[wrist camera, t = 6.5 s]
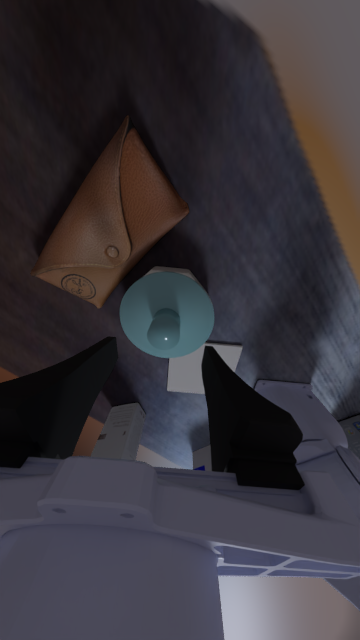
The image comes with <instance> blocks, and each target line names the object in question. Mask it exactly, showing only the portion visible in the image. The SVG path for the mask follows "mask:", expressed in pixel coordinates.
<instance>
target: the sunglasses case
mask: <svg viewBox="0 0 360 640" xmlns="http://www.w3.org/2000/svg"><path fill="white" fill-rule="evenodd" d="M188 213H189V207H188V204H187V203H186V202H185V201H184V200H183V199H181V197H180V196H179V195H178V193H177V192H176V190H175V189H174V187H173V186H172V185H171V183H170V182H169V180H168V179H167V177H166V176H165V174H164V173H163V171H162V170H161V169H160V167H159V166H158V164H157V163H156V161H155V160H154V159H153V157H152V156H151V154H150V152H149V150H148V149H147V148H146V146H145V144H144V142H143V141H142V139H141V138H140V136H139V133H138V132H137V130H136V128H135V127H134V125H133V124H132V121H131V119H130V117H129V116H128V115H127V116H126V117H125V119H124V121H123V123H122V124H121V126H120V128H119V129H118V131H117V132H116V134H115V135H114V136H113V138H112V139H111V141H110V142H109V143H108V145H107V146H106V148H105V149H104V151H103V152H102V153H101V155H100V156H99V158H98V159H97V161H96V163H95V164H94V165H93V167H92V169H91V170H90V172H89V173H88V175H87V177H86V178H85V180H84V181H83V183H82V184H81V186H80V188H79V189H78V191H77V193H76V195H75V196H74V198H73V199H72V201H71V203H70V204H69V206H68V207H67V209H66V211H65V212H64V214H63V216H62V217H61V219H60V221H59V222H58V224H57V226H56V227H55V229H54V231H53V232H52V234H51V236H50V237H49V239H48V241H47V243H46V245H45V246H44V249H43V250H42V252H41V254H40V256H39V258H38V260H37V262H36V264H35V266H34V268H33V269H32V271H31V273H30V274H31V276H36V277H38V278H40V279H42V280H44V281H46V282H48V283H50V284H52V285H55V286H57V287H59V288H61V289H63V290H65V291H67V292H69V293H72V294H74V295H76V296H78V297H80V298H82V299H84V300H86V301H88V302H91V303H93V304H94V305H96V306H97V308H101V307H102V306H103V305H104V303H105V301H106V300H107V298H108V297H109V296H110V294H111V293H112V292H113V290H114V289H115V288H116V287H117V285H118V284H119V283H120V282H121V281H122V280H123V278H124V277H125V276H126V275H127V274H128V273H129V272H130V271H131V270H132V268H133V267H134V266H135V265H136V264H137V263H138V262H139V261H140V260H141V259H142V258H143V256H144V255H145V254H146V253H148V251H149V250H150V249H151V248H152V247H153V246H154V245H155V244H156V243H157V242H158V241H159V240H160V239H161V238H162V237H163V236H164V235H165V234H166V233H167V232H169V231H170V230H171V229H172V228H173V227H174V226H175V225H176V224H177V223H178V222H180V221H181V220H182V219H183V218H185V217H186V216H187V214H188Z"/></svg>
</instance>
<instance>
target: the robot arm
mask: <svg viewBox="0 0 360 640" xmlns="http://www.w3.org/2000/svg"><path fill="white" fill-rule="evenodd" d="M117 359H118V352H117V344H116V337H106V338H105V339H103V340H101V341H99V342H98V343H96V344H94V345H93V346H91V347H89V348H88V349H86V350H84V351H82V352H80V353H78V354H77V355H75V356H73V357H71V358H69V359H67V360H65V361H62V362H60V363H58V364H56V365H53V366H51V367H48V368H45V369H43V370H40V371H38V372H35V373H32V374H29V375H26V376H23V377H20V378H16V379H13V380H9V381H6V382H2V383H0V640H224V633H223V622H222V613H221V602H220V593H219V582H218V576H262V577H266V576H267V577H313V578H323V579H324V580H325V581H326V582H328V583H329V584H330V585H331V586H332V587H333V588H335V589H336V590H337V591H338V592H339V593H340V594H341V595H343V596H344V597H345V598H346V599H347V600H348V601H349V602H351V603H352V604H353V605H354V606H355V607H356V608H357V609H358V610H359V611H360V459H359V458H358V457H357V456H356V455H355V454H354V453H353V452H352V451H351V450H349V449H348V441H347V438H346V435H345V433H344V431H343V429H342V427H341V426H340V424H339V423H338V422H337V420H336V419H335V418H334V417H333V416H332V415H331V413H330V412H329V411H328V410H327V409H326V408H325V406H324V405H323V404H322V403H321V402H320V401H319V399H318V398H317V397H316V396H315V395H314V394H313V392H312V391H311V389H312V388H313V386H312V385H311V384H302V383H291V382H279V381H268V380H258V381H257V384H256V386H255V388H254V389H253V388H251V387H250V386H249V385H248V384H246V383H245V382H244V381H243V380H242V379H241V378H240V377H239V376H237V375H236V374H235V373H234V371H233V370H232V369H231V368H230V367H229V366H228V365H227V364H226V363H225V361H224V360H223V359H222V358H221V356H220V355H219V354H218V353H217V351H216V350H215V349H214V347H213V346H206V345H205V348H204V353H203V359H202V364H201V370H202V380H203V385H204V391H205V396H206V401H207V408H208V418H209V431H210V446H211V465H212V471H201V470H188V469H176V468H163V467H152V466H151V465H149V464H147V463H145V462H140V461H136V460H127V459H114V458H101V457H89V456H72V454H73V452H74V449H75V446H76V444H77V441H78V439H79V436H80V434H81V431H82V429H83V426H84V424H85V422H86V420H87V417H88V415H89V413H90V411H91V408H92V406H93V404H94V402H95V400H96V398H97V396H98V394H99V392H100V391H101V389H102V387H103V386H104V384H105V382H106V381H107V379H108V377H109V375H110V374H111V372H112V370H113V368H114V366H115V364H116V361H117Z"/></svg>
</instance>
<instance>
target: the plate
mask: <svg viewBox="0 0 360 640" xmlns="http://www.w3.org/2000/svg"><path fill="white" fill-rule="evenodd" d="M205 345H206V346H213V347H214V349H215V350H216V351H217V353H218V354H219V355H220V356H221V358H222V359H223V360H224V361H225V363H226V364H227V365H228V366H229V367H230V368H231V369H232V370H233V371H234V372H235V369H236V366H237V363H238V360H239V357H240V354H241V351H242V348H243V347H242V346H241V345H230V344H219V343H207V342H205V343H204V344H203V345H202V346H201V347H200V348H199V349H197V350H196V351H194V352H192V353H190V354H188V355H185V356H181V357H176V358H169V371H168V385H167V391H175V392H187V393H199V394H205V391H204V385H203V380H202V370H201V364H202V359H203V353H204V348H205Z"/></svg>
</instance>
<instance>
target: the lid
mask: <svg viewBox="0 0 360 640" xmlns="http://www.w3.org/2000/svg"><path fill="white" fill-rule="evenodd" d="M120 321H121V325H122V327H123V330H124V332H125V334H126V335H127V337H128V338H129V340H130V341H131V342H132V343H133V344H134V345H135V346H137V347H138V348H139V349H141V350H142V351H144V352H146V353H148V354H151V355H153V356H157V357H162V358H176V357H181V356H185V355H188V354H190V353H192V352H194V351H196V350H197V349H199V348H200V347H201V346H202V345H203V344H204V343H205V342H206V341H207V339H208V338H209V336H210V334H211V332H212V329H213V325H214V310H213V306H212V303H211V301H210V298H209V296H208V295H207V293H206V291H205V290H204V289H203V288H202V287H201V286H200V285H199V284H198V283H197V282H196V281H194V280H193V279H192V278H190V277H188V276H186V275H183V274H180V273H176V272H169V271H162V272H155V273H151V274H148V275H146V276H144V277H142V278H140V279H139V280H138V281H136V282H135V283H134V284H133V285H132V286H131V287H130V288H129V289H128V290H127V292H126V293H125V295H124V297H123V299H122V302H121V306H120Z"/></svg>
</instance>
